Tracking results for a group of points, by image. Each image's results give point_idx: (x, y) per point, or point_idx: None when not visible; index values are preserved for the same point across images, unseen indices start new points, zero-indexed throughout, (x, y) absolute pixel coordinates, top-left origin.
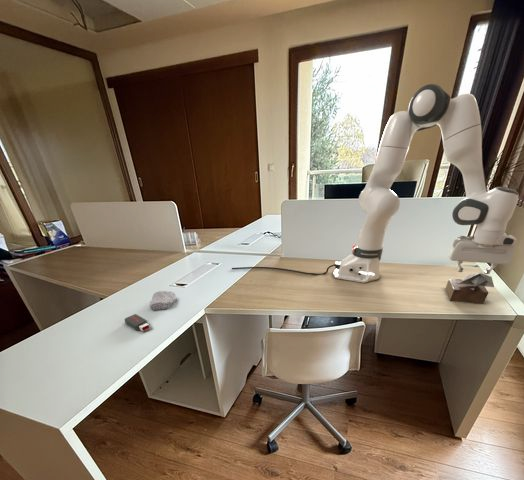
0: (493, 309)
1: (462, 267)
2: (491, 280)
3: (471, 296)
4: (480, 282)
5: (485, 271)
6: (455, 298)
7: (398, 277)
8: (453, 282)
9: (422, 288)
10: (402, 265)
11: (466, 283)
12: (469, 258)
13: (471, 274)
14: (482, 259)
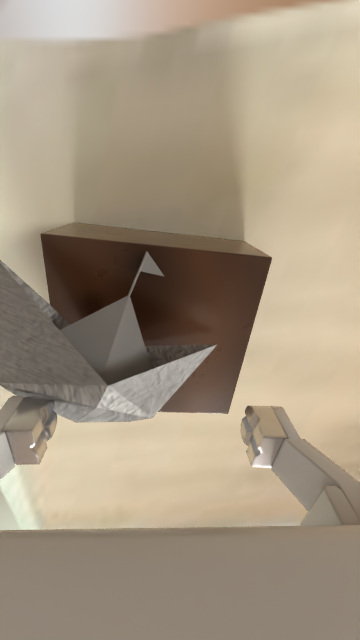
0: (22, 144)
1: (262, 452)
2: (2, 334)
3: (147, 236)
4: (91, 324)
5: (44, 425)
6: (226, 241)
7: (355, 440)
8: (226, 369)
9: (313, 363)
10: (289, 517)
11: (166, 349)
12: (337, 604)
13: (143, 415)
14: (101, 610)
